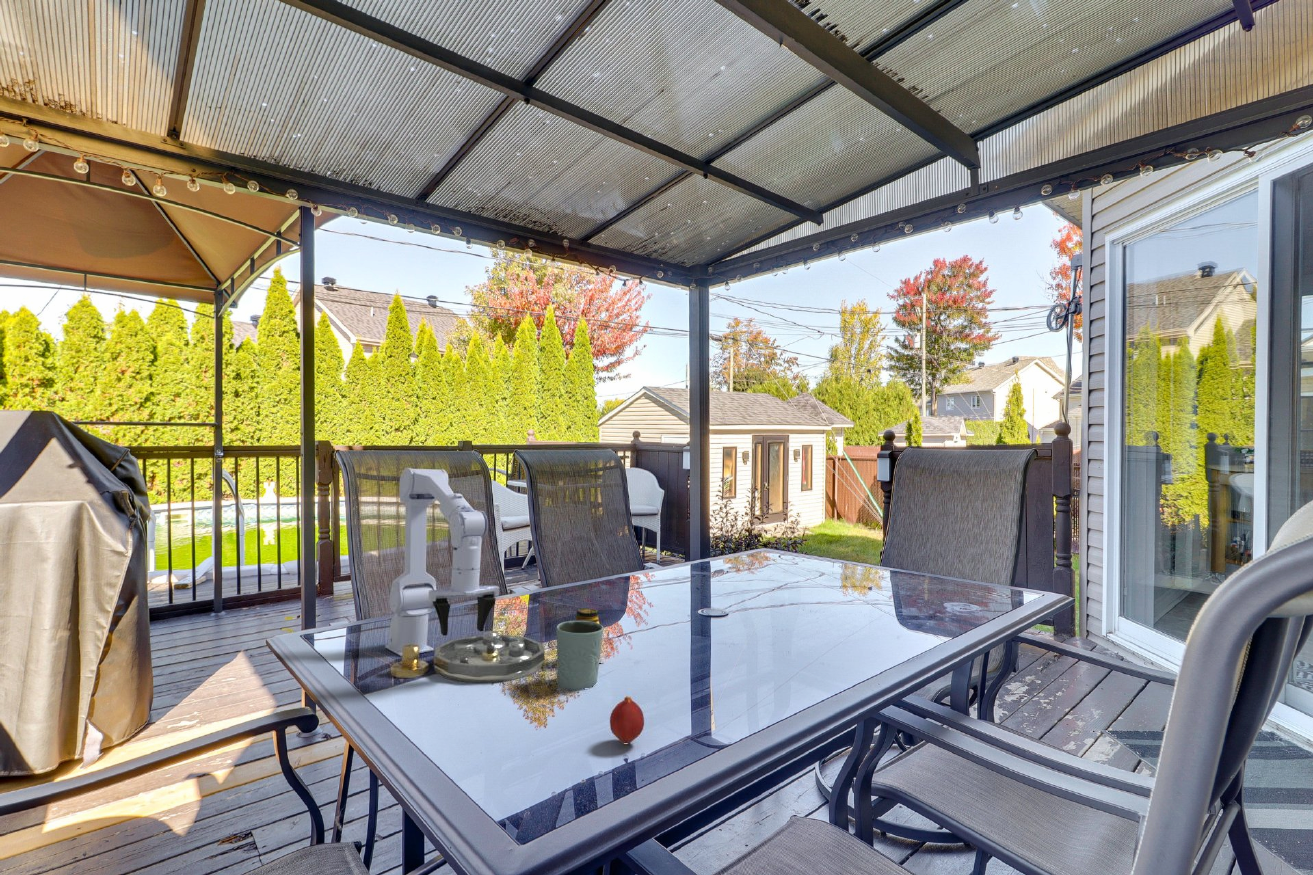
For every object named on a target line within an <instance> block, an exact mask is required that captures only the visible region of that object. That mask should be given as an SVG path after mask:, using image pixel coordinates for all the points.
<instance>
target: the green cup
mask: <svg viewBox="0 0 1313 875" xmlns="http://www.w3.org/2000/svg"><path fill="white" fill-rule="evenodd" d="M603 636H604V626H603V625H602V623H601V624H600V622H599V623H595V622H590V621H576V620H569V621H563V622H560V623H559V624H557V626H556V656H557V657H556V667H557V668H556V672H557V674H556V684H557V685H558V687H560V688H562V689H566V690H569V691H570V690H572V691H583V690H586V689H585V688H589V689H591V688H590V687H592V686H594V685H595V684H596V683H597V682H598V675H599V674H598V673H599V669H600V668H599V667H600V664H599V660H600V658H601V652H602V642H603ZM597 684H598V683H597ZM597 684H596V685H597ZM596 685H595V686H596ZM595 686H594V687H595ZM592 688H593V687H592ZM582 689H583V690H582Z"/></svg>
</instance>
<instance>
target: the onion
mask: <svg viewBox="0 0 1313 875" xmlns="http://www.w3.org/2000/svg"><path fill="white" fill-rule="evenodd" d="M609 726H610V731H611V733H612V734H613V735H614V736H615V738H617V739H618V740H619V741H620V742H621V743H622V742H623V743H629V744H630V743H632V742H633V741H634V740H635V739H637V738H638V737H639V736H640V735H641V733H642V732H643V730H644V726H645V716H644V712H643V710H642V708H641V707H640V706H639V704H637V702H635V701H634V700H633V699H632V697H631V696H630V695H627V696H625V697H624V698H623V700H622V701H620V702H619V703H617V704H616V706H615V707H614V708H613V709H612V711H611V713H610V717H609ZM623 743H622V744H623Z"/></svg>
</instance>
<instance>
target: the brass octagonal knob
mask: <svg viewBox="0 0 1313 875" xmlns="http://www.w3.org/2000/svg"><path fill="white" fill-rule="evenodd" d="M419 659H420V653H419V645H416V644H410V645H405V646H403V651H402V656H401V661H398V662H395V663H394V664H393V665H392V666H391V667H390V675H392V676H394V677H395V678H401V679H412V678H417V677H422V676H425V674H426V673H428V671H429V663H428V662H426V661H424V660H419Z"/></svg>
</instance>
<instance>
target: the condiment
mask: <svg viewBox="0 0 1313 875" xmlns="http://www.w3.org/2000/svg"><path fill="white" fill-rule="evenodd" d="M575 621H590V622H595V623H599V624H600V621H599V611H598V610H597V609H595V608H586V607H585V608H580V609H577V611H576V616H575Z"/></svg>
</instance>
